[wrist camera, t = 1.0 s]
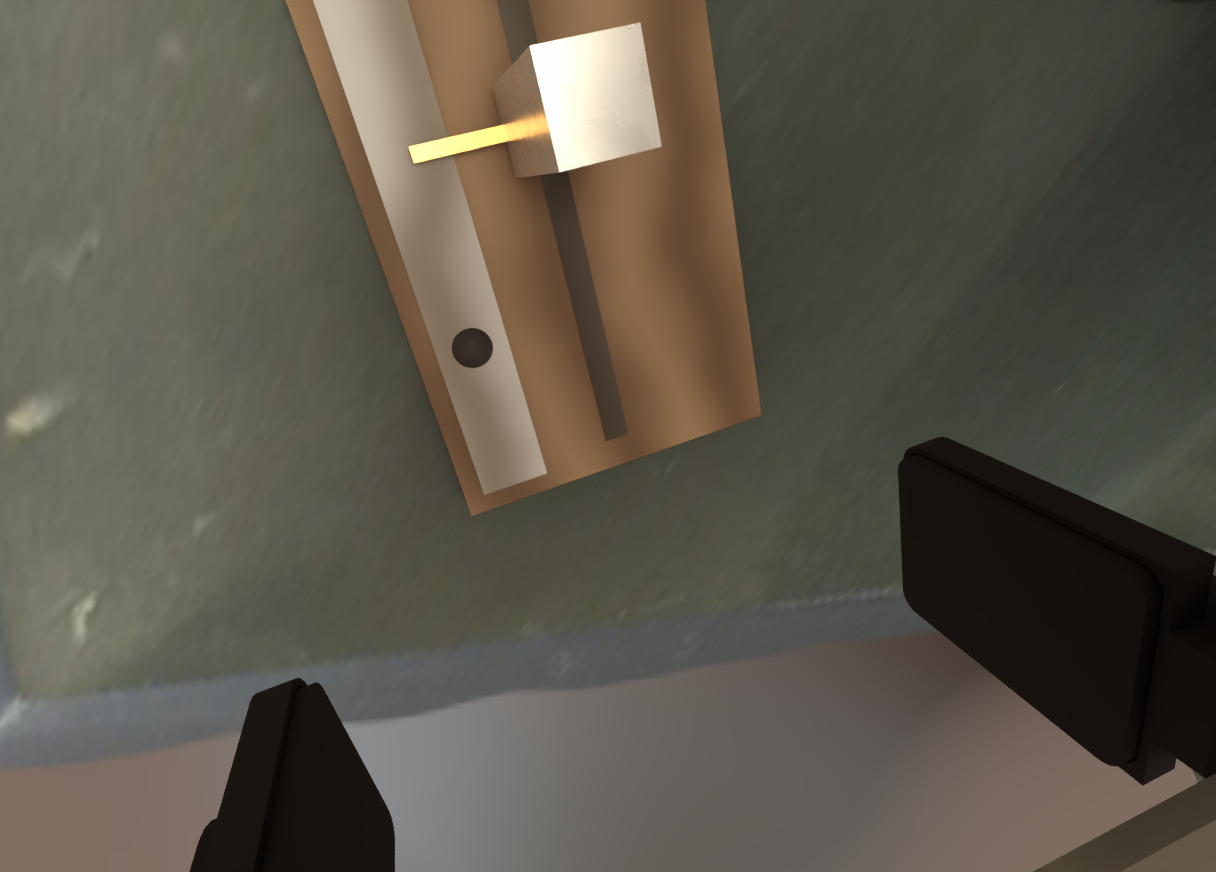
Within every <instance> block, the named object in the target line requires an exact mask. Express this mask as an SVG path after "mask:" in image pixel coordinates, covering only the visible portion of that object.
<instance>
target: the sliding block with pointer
mask: <svg viewBox="0 0 1216 872" xmlns="http://www.w3.org/2000/svg"><path fill="white" fill-rule="evenodd" d="M492 91H493V94H494V98H495V102H496V106H497V110H498V113H499V117H500V121H501V125H500V126H496V127H491V128H487V129H483V130H479V131H474V132H470V133H466V134H461V135H457V136H453V137H448V138H444V139H440V140H435V141H431V142H427V143H423V144H418V145H414V146H410V147H408V148H409V151H410V154H411V157H412V160H413V164H415V163H420V162H424V161H428V160H432V159H436V158H441V157H445V156H449V155H453V154H457V153H462V152H466V151H470V150H474V149H479V148H483V147H487V146H491V145H495V144H500V143H504V142H506V144H507V148H508V152H509V155H510V159H511V163H512V167H513V171H514V174H515V178H522V177H529V176H536V175H544V174H551V173H559V172H563V171H567V170H571V169H575V168H579V167H583V166H587V165H591V164H595V163H599V162H603V161H607V160H611V159H615V158H619V157H623V156H627V155H631V154H635V153H639V152H643V151H647V150H651V149H655V148H659V147H662V145H661V139H660V133H659V128H658V122H657V116H656V110H655V104H654V99H653V93H652V87H651V81H650V75H649V70H648V64H647V58H646V52H645V46H644V41H643V35H642V29H641V23H635V24H630V25H626V26H621V27H616V28H611V29H607V30H602V31H597V32H592V33H587V34H583V35H578V36H573V37H568V38H564V39H559V40H554V41H549V42H545V43H540V44H535V45H530V46H529V47H528V48H527V49H526V50H525V51H524V52H523V53H522V55H521V56H520V57H519V58H518V59H517V60H516V61H515V62H514V63H513V65H512V66H511V67H510V68H509V69H508V70H507V71H506V72H505V73H504V74H503V76H502V77H501V78H500V79H499V80H498V81H497V82H496V83H495V84H494V86H493V87H492Z"/></svg>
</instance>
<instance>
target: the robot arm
mask: <svg viewBox="0 0 1216 872" xmlns="http://www.w3.org/2000/svg"><path fill="white" fill-rule="evenodd" d="M898 480H899V503H900V527H901V551H902V575H903V592H904V596H905V598H906V600H907V602H908V604H909V606H910V607H911V608H912V609H913V610H914V611H915V612H916V613H917V614H918V615H919V616H921V617H922V618H923V619H924V620H926V621H927V622H928V623H929V624H931V625H932V626H933V627H934V628H935V629H937V630H938V631H939V632H940V633H942V634H943V635H944V636H945V637H947V638H948V639H949V640H951V641H952V642H953V643H954V644H955V645H957V646H958V647H959V648H960V649H962V650H963V651H964V652H965V653H967V654H968V655H969V656H971V657H972V658H973V659H974V660H975V661H977V662H978V663H979V664H980V665H982V666H983V667H984V668H985V669H987V670H988V671H989V672H990V673H992V674H993V675H994V676H996V677H997V678H998V679H999V680H1000V681H1002V682H1003V683H1004V684H1005V685H1007V686H1008V687H1009V688H1010V689H1012V690H1013V691H1014V692H1015V693H1017V694H1018V695H1019V696H1020V697H1022V698H1023V699H1024V700H1025V701H1027V702H1028V703H1029V704H1030V705H1031V706H1033V707H1034V708H1035V709H1036V710H1038V711H1039V712H1040V713H1041V714H1043V715H1044V716H1045V717H1047V718H1048V719H1049V720H1050V721H1051V722H1053V723H1054V724H1055V725H1056V726H1058V727H1059V728H1060V729H1061V730H1063V731H1064V732H1065V733H1066V734H1068V735H1069V736H1070V737H1071V738H1073V739H1074V740H1075V741H1076V742H1078V743H1079V744H1080V745H1081V746H1083V747H1084V748H1085V749H1086V750H1087V751H1089V752H1090V753H1091V754H1092V755H1094V756H1095V757H1096V758H1098V759H1099V760H1101V761H1102V762H1103V763H1106V764H1108V765H1110V766H1119V767H1120V768H1121V769H1123V770H1124V771H1125V772H1127V773H1128V774H1129V775H1130V776H1131V777H1133V778H1134V779H1135V780H1136V781H1138V782H1139V783H1140V784H1141V785H1145V784H1147V783H1148V782H1150V781H1152V780H1154V779H1156V778H1158V777H1160V776H1161V775H1163V774H1165V773H1167V772H1169V771H1171V770H1173V769H1174V768H1175V762H1176V758H1177V759H1179V760H1180V761H1182V762H1183V763H1185V764H1186V765H1187V766H1188V767H1190V768H1191V769H1193V772H1194V774H1195V777H1196V779H1197V782H1198V783H1197V784H1195V785H1193V786H1191V787H1189V788H1188V789H1186V790H1184V791H1182V792H1180V793H1178V794H1176V795H1174V796H1173V797H1171V798H1169V799H1167V800H1165V801H1163V802H1162V803H1160V804H1158V805H1156V806H1154V807H1152V808H1150V809H1149V810H1147V811H1145V812H1143V813H1141V814H1139V815H1137V816H1135V817H1134V818H1132V819H1130V820H1128V821H1126V822H1125V823H1122V824H1121V825H1119V826H1117V827H1115V828H1113V829H1111V830H1110V831H1108V832H1106V833H1104V834H1102V835H1100V836H1099V837H1096V838H1095V839H1093V840H1091V841H1089V842H1087V843H1086V844H1084V845H1082V846H1080V847H1078V848H1076V849H1074V850H1072V851H1070V852H1069V853H1067V854H1065V855H1063V856H1061V857H1060V858H1057V859H1056V860H1054V861H1052V862H1050V863H1048V864H1046V865H1045V866H1043V867H1041V868H1039V869H1037V870H1035V871H1034V872H1216V576H1214V575H1213V571H1214V566H1215V561H1216V556H1215V555H1212V554H1210V553H1208V552H1205V551H1203V550H1201V549H1199V548H1196V547H1194V546H1192V545H1190V544H1187V543H1185V542H1183V541H1180V540H1178V539H1176V538H1174V537H1171V536H1169V535H1167V534H1165V533H1162V532H1160V531H1158V530H1155V529H1153V528H1151V527H1149V526H1146V525H1144V524H1142V523H1140V522H1137V521H1135V520H1133V519H1130V518H1128V517H1126V516H1124V515H1121V514H1119V513H1117V512H1115V511H1112V510H1110V509H1108V508H1105V507H1103V506H1101V505H1099V504H1096V503H1094V502H1092V501H1090V500H1087V499H1085V498H1083V497H1081V496H1078V495H1076V494H1074V493H1071V492H1069V491H1067V490H1065V489H1062V488H1060V487H1058V486H1056V485H1053V484H1051V483H1049V482H1046V481H1044V480H1042V479H1040V478H1037V477H1035V476H1033V475H1031V474H1028V473H1026V472H1024V471H1021V470H1019V469H1017V468H1015V467H1012V466H1010V465H1008V464H1006V463H1003V462H1001V461H999V460H996V459H994V458H992V457H990V456H987V455H985V454H983V453H981V452H978V451H976V450H974V449H971V448H969V447H967V446H965V445H962V444H960V443H958V442H956V441H953V440H951V439H949V438H945V437H938V438H935V439H932V440H929V441H927V442H924V443H921V444H919V445H916V446H913V447H911V448H909V449H908V450H906V452H905V454H904V459H903V460H902V461H901V462H900V464H899V466H898ZM190 872H395V835H394V827H393V822H392V818H391V815H390V812H389V810H388V808H387V806H386V804H385V802H384V800H383V798H382V797H381V795H380V793H379V791H378V789H377V788H376V785H375V784H374V782H373V780H372V778H371V776H370V774H369V772H368V771H367V769H366V767H365V765H364V763H363V761H362V759H361V758H360V756H359V754H358V752H357V750H356V748H355V746H354V745H353V743H352V741H351V739H350V737H349V735H348V733H347V732H346V730H345V728H344V726H343V724H342V722H341V720H340V719H339V717H338V715H337V713H336V711H335V709H334V707H333V706H332V704H331V702H330V700H329V698H328V696H327V694H326V693H325V691H324V689H323V688H322V686H321V685H320V684H319V683H313V684H310V685H308V686H307V684H306V683H305V682H304V681H303V680H302V679H301V678H296V679H293V680H291V681H288V682H285V683H283V684H280V685H277V686H275V687H272V688H269V689H267V690H264V691H261V692H259V693H256V694H255V695H254V696H253V697H252V699H251V701H250V704H249V708H248V711H247V715H246V718H245V722H244V725H243V729H242V732H241V736H240V739H239V743H238V746H237V750H236V753H235V757H234V761H233V764H232V768H231V771H230V775H229V778H228V782H227V785H226V789H225V792H224V796H223V799H222V803H221V806H220V810H219V813H218V817H217V819H214V820H212V821H211V822H210V823H209V824H208V825H207V826H206V827H205V829H204V831H203V833H202V835H201V837H200V840H199V842H198V846H197V849H196V852H195V856H194V859H193V862H192V865H191V869H190Z"/></svg>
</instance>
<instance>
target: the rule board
mask: <svg viewBox="0 0 1216 872" xmlns="http://www.w3.org/2000/svg"><path fill="white" fill-rule="evenodd" d="M286 3H287V6H288V8H289V11H290V14H291V17H292V19H293V22H294V25H295V28H296V30H297V33H298V36H299V39H300V42H301V44H302V47H303V50H304V53H305V55H306V58H307V61H308V64H309V66H310V69H311V72H312V75H313V78H314V80H315V83H316V86H317V89H318V91H319V94H320V97H321V100H322V102H323V105H324V108H325V111H326V114H327V116H328V119H329V122H330V125H331V127H332V130H333V133H334V136H335V138H336V141H337V144H338V147H339V150H340V152H341V155H342V158H343V161H344V163H345V166H346V169H347V172H348V174H349V177H350V180H351V183H352V186H353V188H354V191H355V194H356V197H357V199H358V202H359V205H360V208H361V211H362V213H363V216H364V219H365V222H366V224H367V227H368V230H369V233H370V235H371V238H372V241H373V244H374V247H375V249H376V252H377V255H378V258H379V260H380V263H381V266H382V269H383V271H384V274H385V277H386V280H387V283H388V285H389V288H390V291H391V294H392V296H393V299H394V302H395V305H396V307H397V310H398V313H399V316H400V319H401V321H402V324H403V327H404V330H405V332H406V335H407V338H408V341H409V343H410V346H411V349H412V352H413V355H414V357H415V360H416V363H417V366H418V368H419V371H420V374H421V377H422V379H423V382H424V385H425V388H426V391H427V393H428V396H429V399H430V402H431V404H432V407H433V410H434V413H435V415H436V418H437V421H438V424H439V427H440V429H441V432H442V435H443V438H444V440H445V443H446V446H447V449H448V451H449V454H450V457H451V460H452V463H453V465H454V468H455V471H456V474H457V476H458V479H459V482H460V485H461V488H462V490H463V493H464V496H465V499H466V501H467V504H468V507H469V510H470V512H471V515H472V516H473V515H476V514H479V513H482V512H485V511H487V510H490V509H493V508H496V507H499V506H502V505H505V504H508V503H510V502H513V501H516V500H519V499H522V498H525V497H528V496H531V495H534V494H536V493H539V492H542V491H545V490H548V489H551V488H554V487H557V486H559V485H562V484H565V483H568V482H571V481H574V480H577V479H580V478H582V477H585V476H588V475H591V474H594V473H597V472H600V471H603V470H605V469H608V468H611V467H614V466H617V465H620V464H623V463H626V462H628V461H631V460H634V459H637V458H640V457H643V456H646V455H649V454H651V453H654V452H657V451H660V450H663V449H666V448H669V447H672V446H674V445H677V444H680V443H683V442H686V441H689V440H692V439H695V438H698V437H700V436H703V435H706V434H709V433H712V432H715V431H718V430H721V429H723V428H726V427H729V426H732V425H735V424H738V423H741V422H744V421H746V420H749V419H752V418H755V417H758V416H761V408H760V401H759V393H758V386H757V378H756V371H755V364H754V356H753V349H752V342H751V334H750V327H749V320H748V312H747V305H746V297H745V290H744V283H743V275H742V268H741V261H740V253H739V246H738V238H737V231H736V224H735V216H734V209H733V202H732V194H731V187H730V180H729V172H728V165H727V157H726V150H725V143H724V135H723V128H722V121H721V113H720V106H719V99H718V91H717V84H716V76H715V69H714V62H713V54H712V47H711V40H710V32H709V25H708V18H707V10H706V3H705V0H286ZM635 23H641V29H642V35H643V41H644V46H645V52H646V58H647V64H648V70H649V75H650V81H651V87H652V93H653V99H654V104H655V110H656V116H657V122H658V128H659V133H660V139H661V145H662V147H659V148H655V149H651V150H647V151H643V152H639V153H635V154H631V155H627V156H623V157H619V158H615V159H611V160H607V161H603V162H599V163H595V164H591V165H587V166H583V167H579V168H575V169H571V170H567V171H563V172H559V173H551V174H544V175H536V176H529V177H522V178H515V174H514V171H513V167H512V163H511V159H510V155H509V152H508V148H507V144H506V142H504V143H500V144H495V145H491V146H487V147H483V148H479V149H474V150H470V151H466V152H462V153H457V154H453V155H449V156H445V157H441V158H436V159H432V160H428V161H424V162H420V163H415V164H413V160H412V157H411V154H410V151H409V148H408V147H410V146H414V145H418V144H423V143H427V142H431V141H435V140H440V139H444V138H448V137H453V136H457V135H461V134H466V133H470V132H474V131H479V130H483V129H487V128H491V127H496V126H500V125H501V121H500V117H499V113H498V110H497V106H496V102H495V98H494V94H493V91H492V87H493V86H494V84H495V83H496V82H497V81H498V80H499V79H500V78H501V77H502V76H503V74H504V73H505V72H506V71H507V70H508V69H509V68H510V67H511V66H512V65H513V63H514V62H515V61H516V60H517V59H518V58H519V57H520V56H521V55H522V53H523V52H524V51H525V50H526V49H527V48H528V47H529V46H530V45H535V44H540V43H545V42H549V41H554V40H559V39H564V38H568V37H573V36H578V35H583V34H587V33H592V32H597V31H602V30H607V29H611V28H616V27H621V26H626V25H630V24H635Z"/></svg>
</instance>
